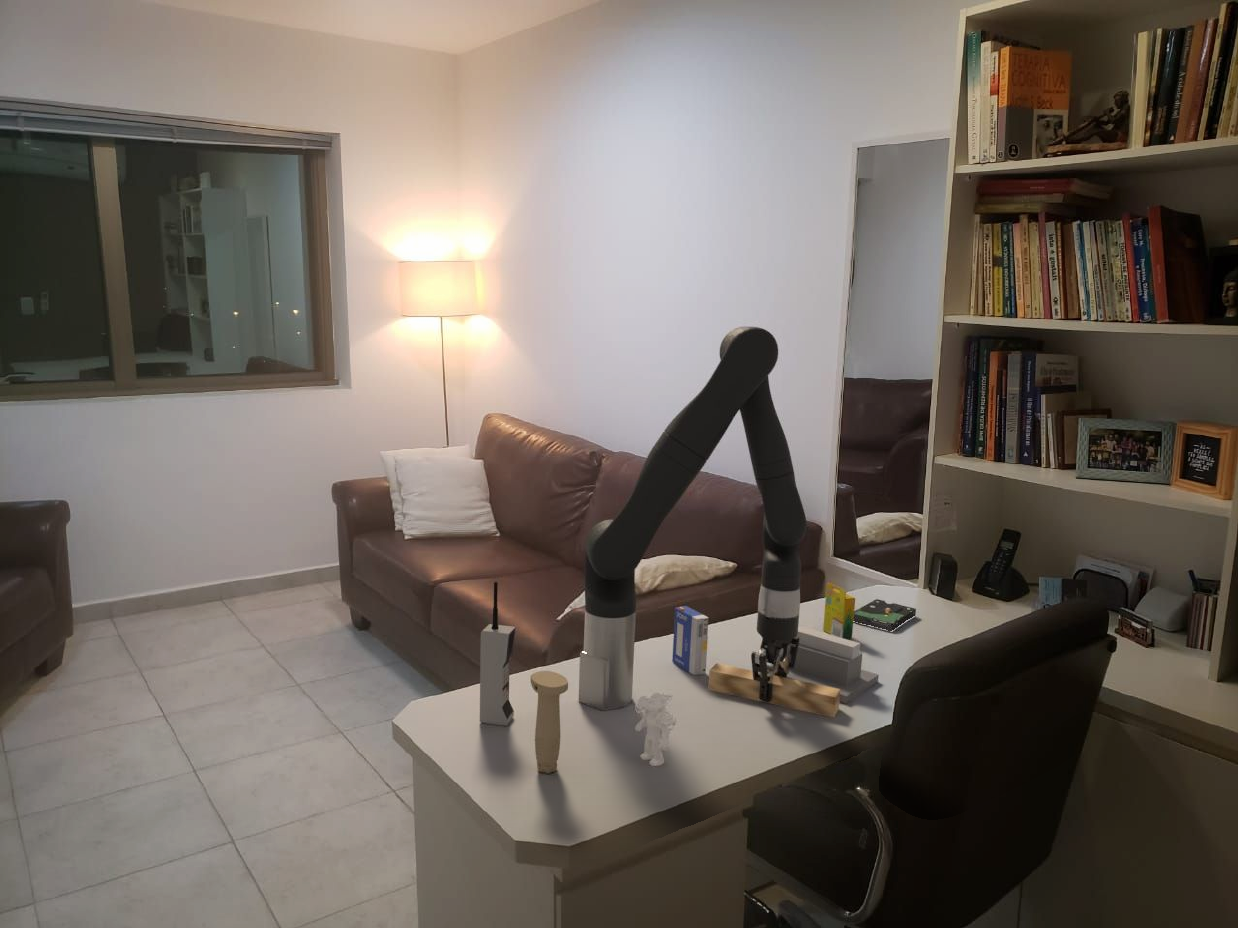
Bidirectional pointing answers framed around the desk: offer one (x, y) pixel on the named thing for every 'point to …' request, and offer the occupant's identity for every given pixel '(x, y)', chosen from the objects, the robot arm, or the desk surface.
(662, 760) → the white figurine
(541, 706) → the handle
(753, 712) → the desk surface
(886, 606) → the disk drive
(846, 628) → the crayon box
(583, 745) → the desk surface
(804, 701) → the oak bar
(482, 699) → the vintage mobile phone
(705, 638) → the walkman
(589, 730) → the desk surface
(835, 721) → the desk surface
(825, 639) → the balance stand
